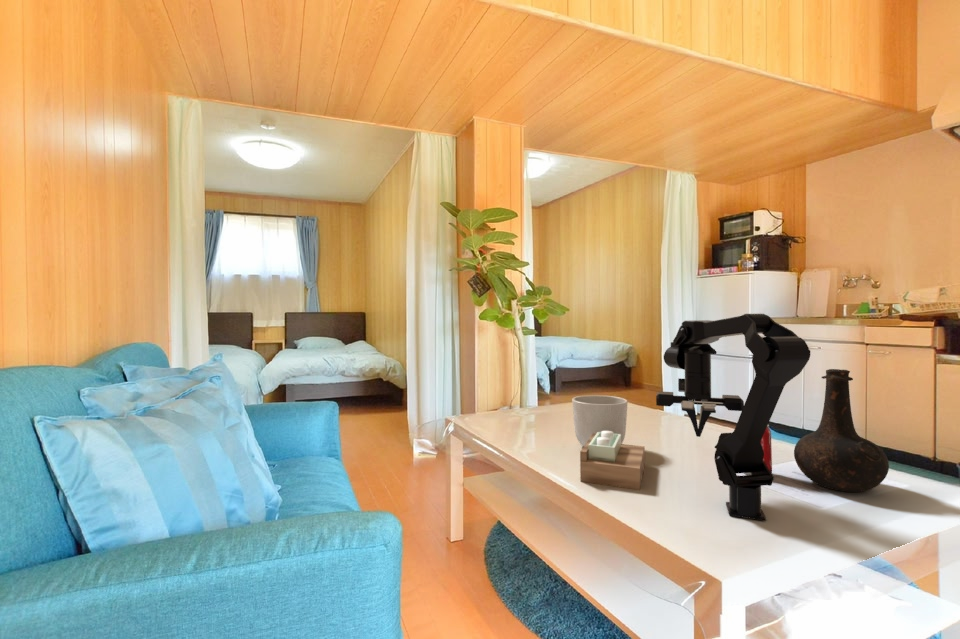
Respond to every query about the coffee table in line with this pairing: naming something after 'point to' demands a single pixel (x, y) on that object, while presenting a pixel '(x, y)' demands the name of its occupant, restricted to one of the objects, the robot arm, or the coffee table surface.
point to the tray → (605, 446)
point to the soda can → (766, 449)
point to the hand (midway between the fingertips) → (698, 436)
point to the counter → (614, 467)
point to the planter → (599, 416)
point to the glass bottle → (840, 445)
